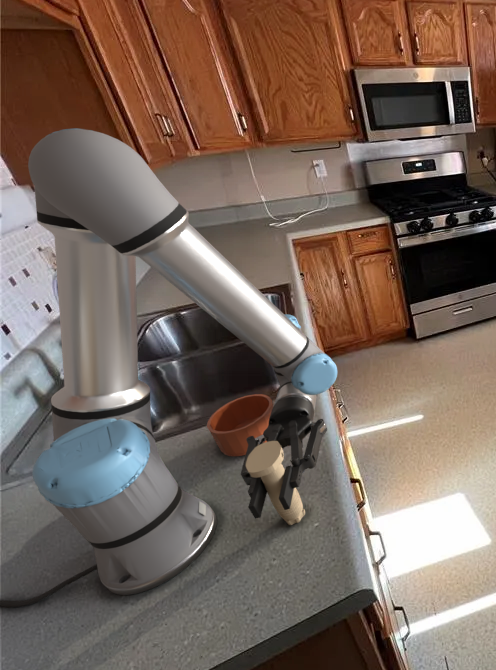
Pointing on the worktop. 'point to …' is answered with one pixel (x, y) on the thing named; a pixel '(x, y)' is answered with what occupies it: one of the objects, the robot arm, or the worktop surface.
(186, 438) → the worktop surface
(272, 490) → the handle
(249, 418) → the crock
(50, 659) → the worktop surface
